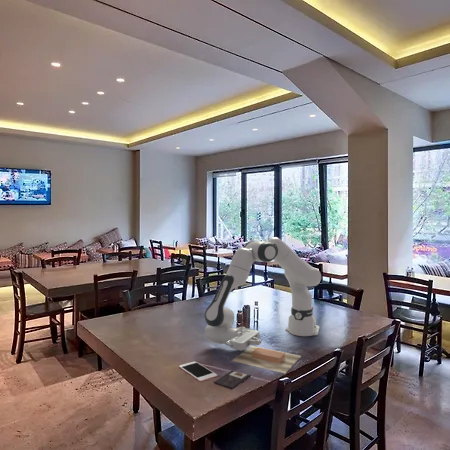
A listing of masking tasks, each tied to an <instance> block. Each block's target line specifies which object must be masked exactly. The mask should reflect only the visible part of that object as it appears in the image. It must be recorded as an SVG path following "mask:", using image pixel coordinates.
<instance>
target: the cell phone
mask: <svg viewBox="0 0 450 450" xmlns="http://www.w3.org/2000/svg"><path fill="white" fill-rule="evenodd" d="M178 368H180V369H181V370H182V371H184V372H185V373H187V375H189V376H191V377H192V378H194V379H195V380H197V381H198V382H200V383H201V382H204V381H208V380H211V379H214V378H217V377H218V374H217V373H216V372H214V371H212V370H211V369H209V368H207V367H206V366H204V365H203V364H201V363H199V362H197V361H194V360H193V361H192V362H186V363H184V364H180V365H179V367H178Z"/></svg>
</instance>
